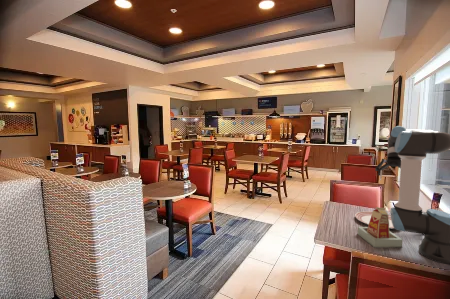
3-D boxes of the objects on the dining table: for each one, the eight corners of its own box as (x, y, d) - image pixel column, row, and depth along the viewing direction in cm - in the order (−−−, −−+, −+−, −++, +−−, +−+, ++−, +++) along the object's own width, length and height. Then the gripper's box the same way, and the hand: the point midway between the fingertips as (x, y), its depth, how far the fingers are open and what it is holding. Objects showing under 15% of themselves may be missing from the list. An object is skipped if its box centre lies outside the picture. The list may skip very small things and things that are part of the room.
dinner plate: (371, 232, 144) (371, 227, 144) (347, 215, 171) (347, 211, 171) (413, 231, 145) (414, 226, 145) (382, 214, 172) (382, 210, 172)
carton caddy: (401, 247, 126) (402, 239, 126) (374, 247, 126) (374, 239, 126) (382, 233, 142) (382, 226, 141) (357, 234, 142) (358, 227, 141)
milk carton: (378, 244, 129) (381, 210, 126) (364, 236, 137) (367, 204, 135) (391, 241, 131) (393, 208, 129) (376, 234, 140) (379, 203, 138)
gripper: (416, 159, 153) (417, 186, 142) (372, 156, 167) (370, 181, 156) (418, 152, 148) (419, 180, 137) (372, 150, 162) (370, 175, 151)
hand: (393, 180), depth 147 cm, fingers open, 13 cm apart
